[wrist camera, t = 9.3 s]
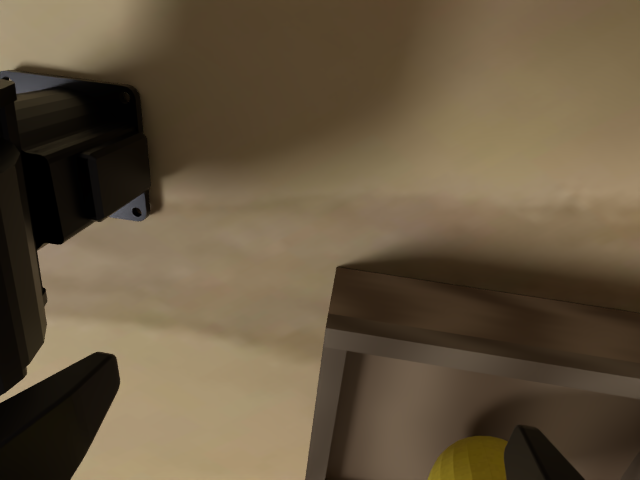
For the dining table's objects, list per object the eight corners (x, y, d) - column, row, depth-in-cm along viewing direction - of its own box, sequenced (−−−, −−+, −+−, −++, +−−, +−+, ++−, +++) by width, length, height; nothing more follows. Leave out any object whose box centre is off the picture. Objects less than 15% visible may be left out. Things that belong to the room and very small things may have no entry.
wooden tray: (314, 426, 27) (301, 504, 23) (336, 267, 22) (325, 328, 17) (569, 472, 26) (608, 562, 22) (659, 316, 21) (737, 394, 16)
